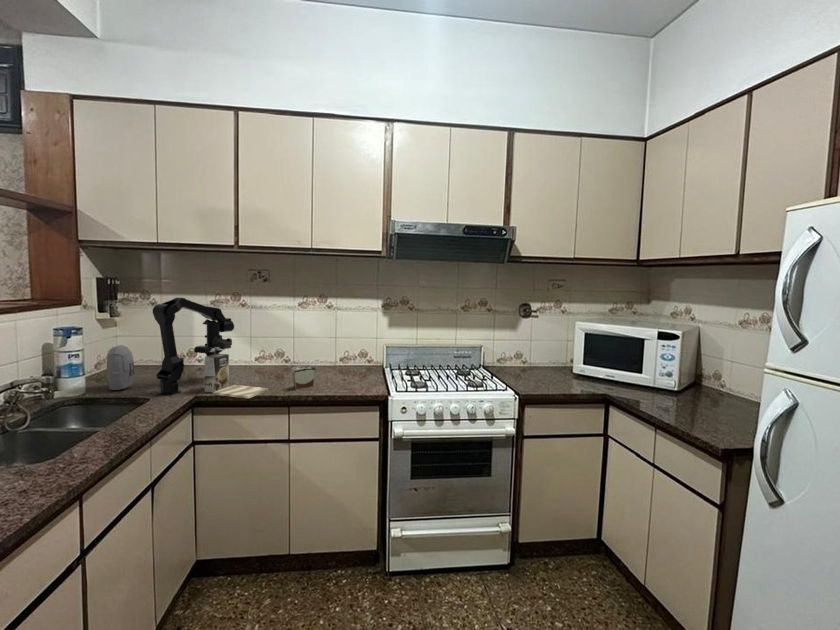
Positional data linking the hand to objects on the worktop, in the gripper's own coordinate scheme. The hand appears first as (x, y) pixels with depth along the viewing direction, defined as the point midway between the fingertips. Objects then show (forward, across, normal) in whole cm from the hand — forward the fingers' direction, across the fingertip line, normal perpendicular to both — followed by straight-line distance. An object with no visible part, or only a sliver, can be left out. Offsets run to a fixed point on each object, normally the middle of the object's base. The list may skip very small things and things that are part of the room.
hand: (213, 364), depth 207 cm
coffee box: (+9, -11, -12) cm, 18 cm away
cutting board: (+9, -11, -25) cm, 28 cm away
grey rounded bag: (+9, -24, +28) cm, 38 cm away
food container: (+9, +7, -45) cm, 46 cm away
